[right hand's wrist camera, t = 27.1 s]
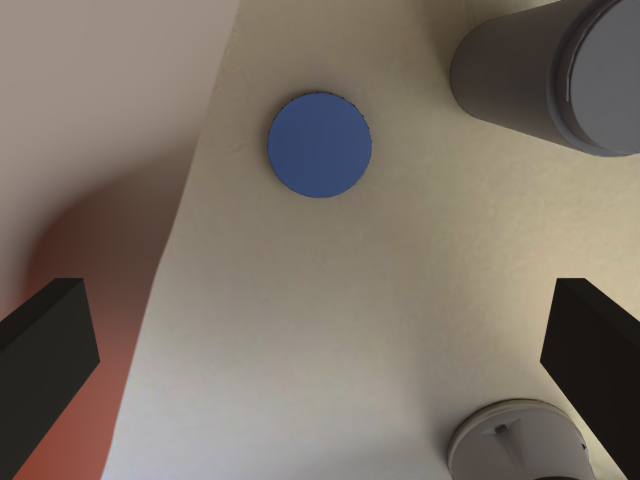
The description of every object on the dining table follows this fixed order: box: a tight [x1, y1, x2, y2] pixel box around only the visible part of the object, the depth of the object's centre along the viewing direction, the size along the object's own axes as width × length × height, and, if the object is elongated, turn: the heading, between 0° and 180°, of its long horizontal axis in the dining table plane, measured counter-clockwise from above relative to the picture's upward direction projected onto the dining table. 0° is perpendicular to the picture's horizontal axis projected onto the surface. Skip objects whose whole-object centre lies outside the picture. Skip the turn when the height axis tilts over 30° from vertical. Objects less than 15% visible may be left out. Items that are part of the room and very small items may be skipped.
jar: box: [450, 0, 640, 157], centre depth 29 cm, size 8×8×19 cm
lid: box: [267, 91, 372, 198], centre depth 40 cm, size 9×9×2 cm
